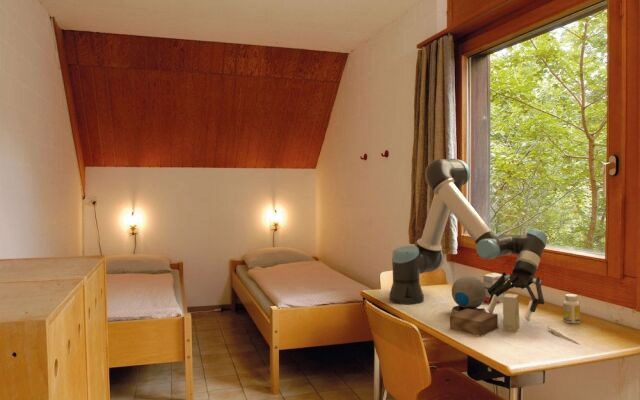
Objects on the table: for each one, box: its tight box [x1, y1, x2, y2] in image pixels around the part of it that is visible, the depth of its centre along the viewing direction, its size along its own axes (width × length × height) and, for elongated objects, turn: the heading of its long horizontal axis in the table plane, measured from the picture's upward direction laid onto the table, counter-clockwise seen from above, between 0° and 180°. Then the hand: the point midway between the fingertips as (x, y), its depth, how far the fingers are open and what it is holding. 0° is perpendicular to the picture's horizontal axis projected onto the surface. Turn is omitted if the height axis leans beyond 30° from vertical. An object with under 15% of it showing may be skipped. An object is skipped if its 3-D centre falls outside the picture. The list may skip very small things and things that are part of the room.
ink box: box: [483, 272, 506, 304], centre depth 206 cm, size 8×5×12 cm, turn 123°
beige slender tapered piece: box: [547, 325, 580, 345], centre depth 159 cm, size 15×3×2 cm, turn 12°
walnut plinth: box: [449, 308, 499, 337], centre depth 170 cm, size 12×12×5 cm
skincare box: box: [502, 292, 520, 333], centre depth 168 cm, size 6×4×12 cm
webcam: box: [451, 275, 487, 315], centre depth 189 cm, size 13×13×15 cm
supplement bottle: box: [562, 293, 581, 324], centre depth 175 cm, size 5×5×10 cm
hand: (507, 315), depth 167 cm, fingers open, 12 cm apart
